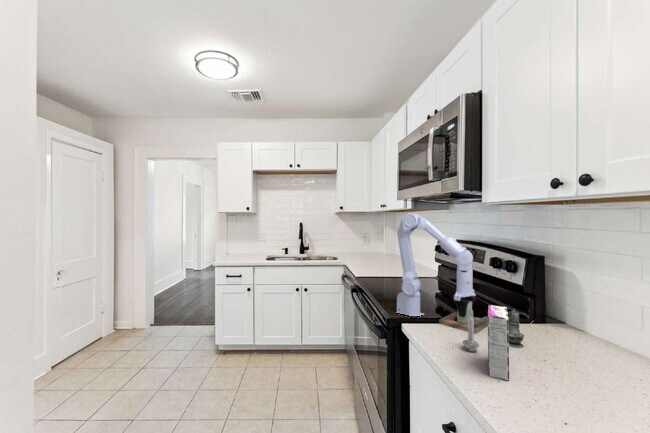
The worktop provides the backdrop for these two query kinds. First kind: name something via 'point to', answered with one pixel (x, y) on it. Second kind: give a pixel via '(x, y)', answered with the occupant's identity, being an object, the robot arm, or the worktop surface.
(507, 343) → the candy bar box
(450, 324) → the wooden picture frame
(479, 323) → the metal rail
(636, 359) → the worktop surface
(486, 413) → the worktop surface
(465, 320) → the peg
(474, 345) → the screw
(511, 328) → the grey chess piece
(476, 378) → the worktop surface
